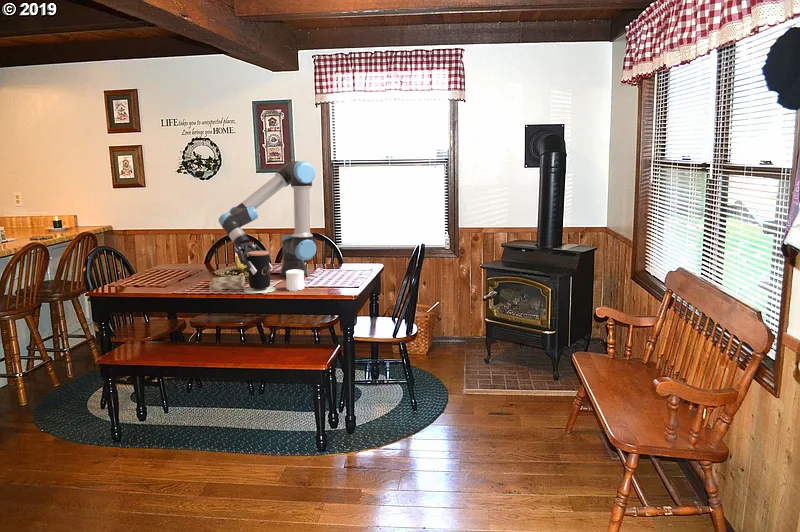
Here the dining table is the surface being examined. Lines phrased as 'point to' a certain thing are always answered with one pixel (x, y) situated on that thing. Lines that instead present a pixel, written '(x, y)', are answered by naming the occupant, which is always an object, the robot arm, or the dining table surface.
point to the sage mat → (260, 290)
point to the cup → (294, 280)
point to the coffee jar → (259, 269)
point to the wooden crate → (227, 283)
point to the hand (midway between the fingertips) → (263, 270)
